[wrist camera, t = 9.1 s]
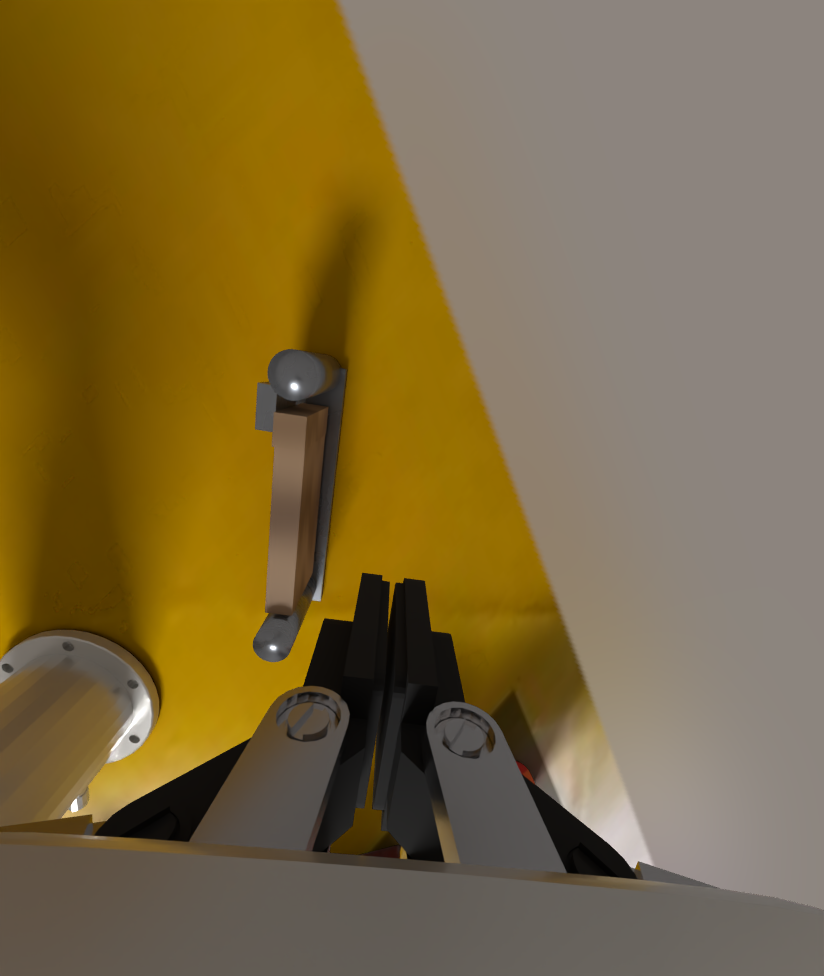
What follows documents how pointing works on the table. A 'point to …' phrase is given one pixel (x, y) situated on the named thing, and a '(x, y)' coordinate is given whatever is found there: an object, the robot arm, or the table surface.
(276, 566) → the gate
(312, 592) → the gate posts
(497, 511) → the table surface
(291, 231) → the table surface
